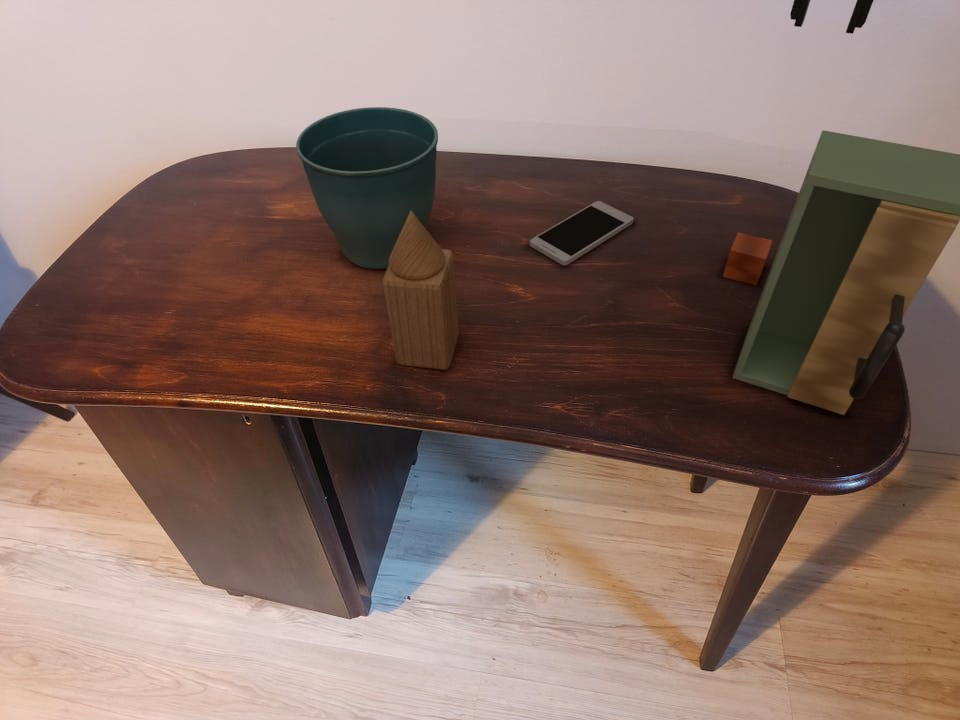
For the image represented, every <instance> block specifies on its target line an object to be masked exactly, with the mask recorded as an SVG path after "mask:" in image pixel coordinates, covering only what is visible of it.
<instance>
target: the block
mask: <svg viewBox="0 0 960 720" xmlns="http://www.w3.org/2000/svg"><path fill="white" fill-rule="evenodd" d="M772 244H773V240H772V239H768V238H764V237H759V236H755V235H751V234H747V233H743V232H737V233H736V236H735V239H734V241H733V244H732V246H731V248H730V250H729V254H728V258H727V261H726V264H725V266H724V267H725V268H724V270H723V273H722V278H725V279H729V280H733V281H737V282H740V283H744V284H748V285H751V286H756V287H757V286H758V283H759V280H760V278H761V276H762V272H763V269H764V267H765V263H766V262H767V258H768V255H769V252H770V250H771V247H772Z"/></svg>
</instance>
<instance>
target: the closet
mask: <svg viewBox="0 0 960 720" xmlns="http://www.w3.org/2000/svg"><path fill="white" fill-rule="evenodd" d="M796 197H797V198H796V200H795V203H794V206H793V207H792V210H791V214H790V216H789V218H788V220H787V221H788V222H787V224H786V227H785V230H784V233H783V235H782V237H781V241H780V244H779V246H778V249H777V251H776V253H775V257H774V259H773V262H772V265H771V267H770V270H769V272H768V275H767V278H766V280H765V284H764V286H763V289H762V292H761V295H760V297H759V300H758V303H757V306H756V308H755V310H754V313H753V316H752V318H751V320H750V324H749V327H748V330H747V332H746V335H745V338H744V341H743V344H742V347H741V350H740V353H739V356H738V359H737V362H736V364H735V367H734V371H733V374H732V377H731V378H732V379H733V380H738V381H741V382H744V383H747V384H750V385H754V386H756V387H759V388H763V389H766V390H770V391H773V392H774V393H775V392H776V393H777V394H780V395H785V396H787V395H788V392H789V390H790V388H791V386H792V384H793V382H794V380H795V378H796V376H797V374H798V371H799V369H800V367H801V365H802V363H803V361H804V359H805V357H806V355H807V353H808V351H809V349H810V346H811V344H812V342H813V340H814V338H815V336H816V334H817V332H818V330H819V328H820V326H821V323H822V321H823V319H824V317H825V315H826V313H827V311H828V309H829V307H830V305H831V303H832V301H833V298H834V296H835V294H836V292H837V290H838V288H839V286H840V284H841V282H842V280H843V278H844V275H845V273H846V271H847V269H848V267H849V265H850V263H851V261H852V259H853V257H854V255H855V253H856V250H857V248H858V246H859V244H860V242H861V240H862V238H863V236H864V234H865V232H866V230H867V227H868V225H869V223H870V221H871V219H872V217H873V215H874V213H875V211H876V209H877V207H879V208H884V209H888V210H893V211H898V212H903V213H907V214H912V215H917V216H922V217H926V218H931V219H936V220H941V221H945V222H950V223H955V224H956V227H957V226H958V225H959V223H960V154H959V153H953V152H948V151H944V150H943V151H942V150H936V149H931V148H924V147H919V146H914V145H909V144H902V143H897V142H891V141H885V140H880V139H874V138H869V137H863V136H858V135H853V134H852V135H851V134H846V133H841V132H835V131H831V130H830V131H829V130H824V129H823V130H822V131H821V132H820V136H819V138H818V141H817V144H816V147H815V149H814V152H813V154H812V157H811V160H810V163H809V166H808V167H807V170H806V173H805V175H804V179H803V181H802V184H801V187H800V189H799V192H798V195H797V196H796Z"/></svg>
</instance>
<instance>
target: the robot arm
mask: <svg viewBox="0 0 960 720" xmlns="http://www.w3.org/2000/svg"><path fill="white" fill-rule="evenodd" d="M810 3H811V0H793V3H792V6H791V10H790V14H789V15H790V20H793V21H794V25H793V27H798V28H802V26H803V24H804V22H805V19H806V16H807V12H808V9H809V6H810ZM873 3H874V0H856V3H855V5H854V8H853V10H852V14H851V17H850V19H849V22H848V25H847V27H846V30H845V33H846V34H851V35H853V34H854V32H855V29H856V28H858V29H861V28H862V27H863V26H864V25H866V22H867V18H868V16H869V13H870V11H871V8H872V6H873Z"/></svg>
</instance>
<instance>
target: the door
mask: <svg viewBox="0 0 960 720" xmlns="http://www.w3.org/2000/svg"><path fill="white" fill-rule="evenodd" d="M956 228H957V226H956V224H955V223H950V222H945V221H941V220H936V219H931V218H926V217H922V216H917V215H912V214H907V213H903V212H898V211H893V210H888V209H884V208H879V207H877V209H876V211H875V213H874V215H873V217H872V219H871V221H870V223H869V225H868V227H867V230H866V232H865V234H864V236H863V238H862V240H861V242H860V244H859V246H858V248H857V250H856V253H855V255H854V257H853V259H852V261H851V263H850V265H849V267H848V269H847V271H846V273H845V275H844V278H843V280H842V282H841V284H840V286H839V288H838V290H837V292H836V294H835V296H834V298H833V301H832V303H831V305H830V307H829V309H828V311H827V313H826V315H825V317H824V319H823V321H822V323H821V326H820V328H819V330H818V332H817V334H816V336H815V338H814V340H813V342H812V344H811V346H810V349H809V351H808V353H807V355H806V357H805V359H804V361H803V363H802V365H801V367H800V369H799V371H798V374H797V376H796V378H795V380H794V382H793V384H792V386H791V388H790V390H789V392H788V395H786V397H787V398H789V399H792V400H795V401H798V402H801V403H804V404H808V405H810V406H814V407H817V408H820V409H823V410H827V411H830V412H832V413H836V414H839V415H842V416H845V414H846V413H847V412H848V410H849V408H850V407H851V405H852V403H853V401H854V400H862V399H864V398H865V396H866V395H867V394H868V392H869V391H870V389H871V387H872V385H873V384H874V383H875V381H876V379H877V378H878V376H879V375H880V372H881V371H882V369H883V367H884V366H885V365H886V362H887V361H888V359H889V358H890V356H891V354H892V353H893V351H894V350H895V347H896V346H897V345H898V343H899V342H900V340H901V338H902V337H903V335H904V333H905V332H906V330H905V329H906V328H905V325H904V324H903V317H904V316H905V314H906V312H907V311H908V309H909V307H910V305H911V304H912V302H913V300H914V299H915V298H916V295H917V294H918V293H919V291H920V289H921V287H922V286H923V284H924V282H925V281H926V279H927V277H928V276H929V274H930V272H931V271H932V269H933V267H934V265H935V264H936V262H937V260H938V259H939V257H940V255H942V252H943V250H944V249H945V248H946V245H947V244H948V242H949V241H950V239H951V237H952V235H953V234H954V232H955V231H956Z"/></svg>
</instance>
